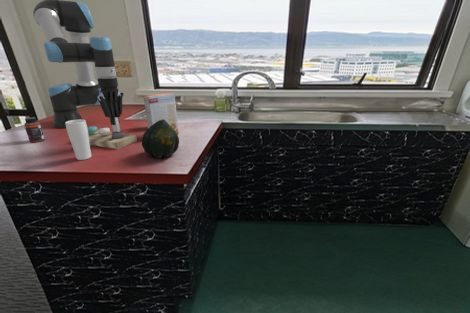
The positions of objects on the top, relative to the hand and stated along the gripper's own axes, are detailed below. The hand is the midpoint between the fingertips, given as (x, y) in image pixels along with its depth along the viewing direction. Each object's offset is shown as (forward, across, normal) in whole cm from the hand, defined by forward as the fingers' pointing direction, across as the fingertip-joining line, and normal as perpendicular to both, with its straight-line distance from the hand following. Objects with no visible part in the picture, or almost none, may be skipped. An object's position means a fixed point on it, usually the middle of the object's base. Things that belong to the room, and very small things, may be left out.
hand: (116, 131), depth 114 cm
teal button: (+2, 0, +16) cm, 16 cm away
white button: (+2, 0, +8) cm, 8 cm away
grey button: (+3, 0, 0) cm, 3 cm away
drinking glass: (+6, -19, -1) cm, 20 cm away
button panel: (+6, 0, +8) cm, 10 cm away
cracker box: (+6, +18, -12) cm, 23 cm away
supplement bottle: (+7, -11, +40) cm, 42 cm away
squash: (+6, -4, -27) cm, 28 cm away
